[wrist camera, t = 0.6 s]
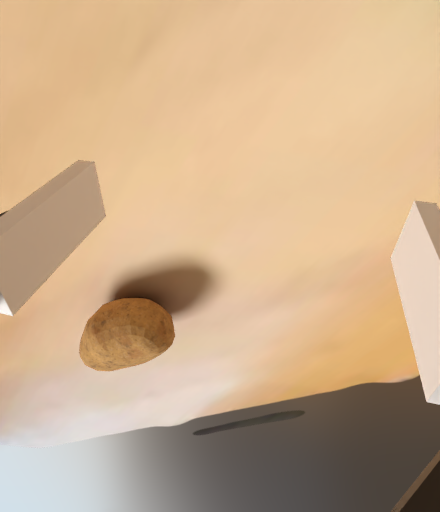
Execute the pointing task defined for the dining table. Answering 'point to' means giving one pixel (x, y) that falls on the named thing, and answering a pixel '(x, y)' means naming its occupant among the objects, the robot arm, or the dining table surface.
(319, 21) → the dining table surface
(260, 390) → the dining table surface
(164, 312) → the potato
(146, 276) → the dining table surface
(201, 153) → the dining table surface
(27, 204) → the robot arm
